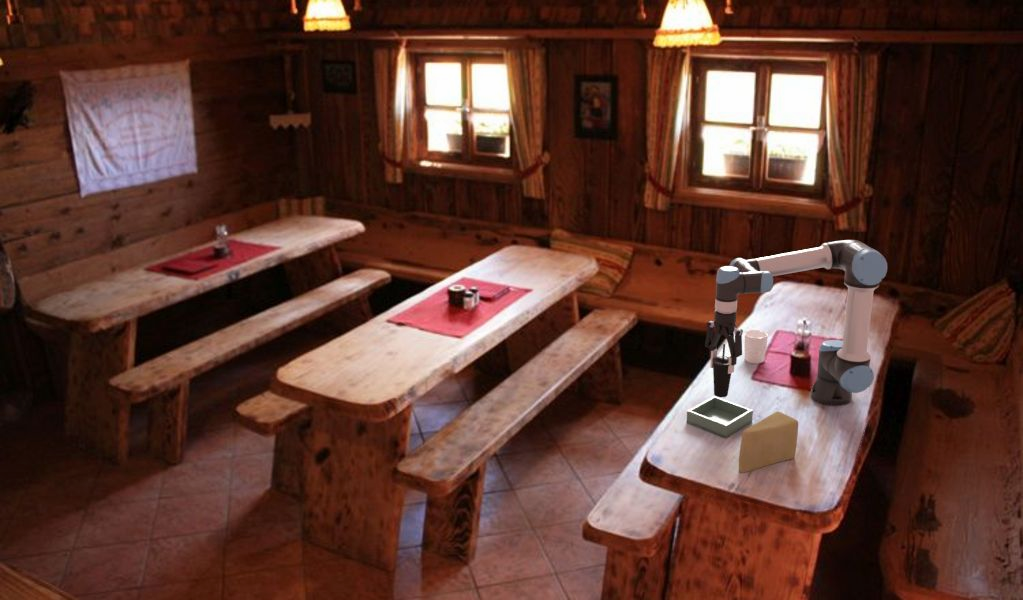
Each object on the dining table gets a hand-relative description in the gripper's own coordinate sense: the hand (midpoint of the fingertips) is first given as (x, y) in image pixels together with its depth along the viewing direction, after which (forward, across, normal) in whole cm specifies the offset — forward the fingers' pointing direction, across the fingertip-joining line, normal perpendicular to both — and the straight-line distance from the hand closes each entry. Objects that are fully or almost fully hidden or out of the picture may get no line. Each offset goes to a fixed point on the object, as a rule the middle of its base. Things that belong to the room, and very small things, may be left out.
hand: (722, 369), depth 320 cm
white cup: (+22, +22, -58) cm, 66 cm away
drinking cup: (+10, 0, 0) cm, 10 cm away
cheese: (+22, -27, +14) cm, 37 cm away
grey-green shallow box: (+22, 0, 0) cm, 22 cm away
